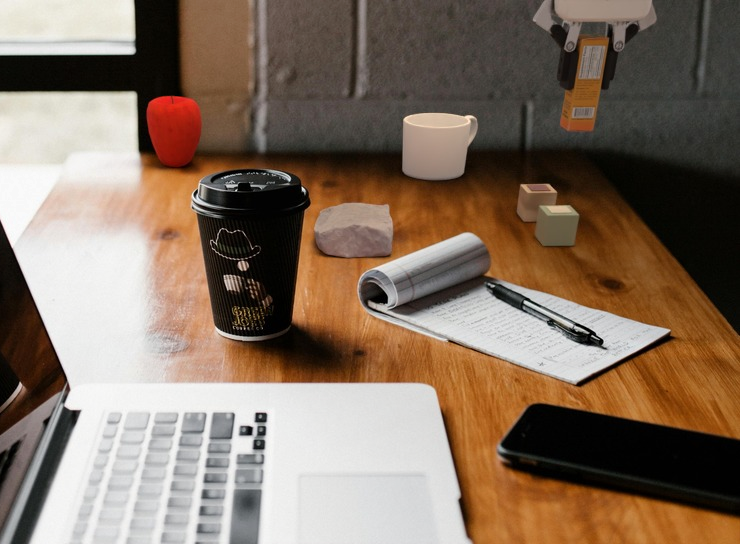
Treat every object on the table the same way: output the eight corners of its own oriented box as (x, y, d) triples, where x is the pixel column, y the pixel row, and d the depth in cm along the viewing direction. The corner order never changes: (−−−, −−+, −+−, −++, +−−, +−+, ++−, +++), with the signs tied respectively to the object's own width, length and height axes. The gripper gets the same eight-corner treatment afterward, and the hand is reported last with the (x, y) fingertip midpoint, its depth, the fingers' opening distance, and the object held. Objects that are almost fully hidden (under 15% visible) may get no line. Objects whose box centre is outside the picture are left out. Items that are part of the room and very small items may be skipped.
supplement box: (556, 124, 102) (573, 32, 96) (584, 125, 102) (603, 33, 96) (564, 131, 99) (582, 36, 94) (593, 132, 99) (613, 37, 94)
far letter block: (544, 212, 121) (549, 183, 118) (552, 221, 117) (557, 191, 115) (516, 212, 120) (520, 183, 118) (523, 221, 117) (527, 192, 115)
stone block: (319, 271, 107) (399, 255, 105) (312, 233, 104) (393, 217, 103) (318, 241, 117) (391, 227, 116) (311, 207, 115) (386, 192, 113)
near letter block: (564, 235, 112) (570, 204, 110) (574, 245, 109) (579, 214, 107) (534, 235, 112) (539, 204, 110) (542, 246, 109) (547, 214, 107)
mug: (426, 184, 132) (431, 130, 128) (387, 169, 140) (389, 117, 136) (493, 172, 138) (499, 120, 134) (451, 158, 146) (456, 108, 142)
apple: (214, 162, 144) (211, 95, 139) (177, 174, 138) (172, 103, 133) (176, 154, 149) (171, 88, 143) (139, 165, 143) (133, 97, 137)
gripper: (545, -101, 85) (520, 95, 94) (710, -102, 85) (668, 93, 95) (525, -101, 91) (503, 82, 101) (678, -102, 92) (642, 81, 101)
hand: (583, 86), depth 98 cm, fingers closed on supplement box, 3 cm apart
